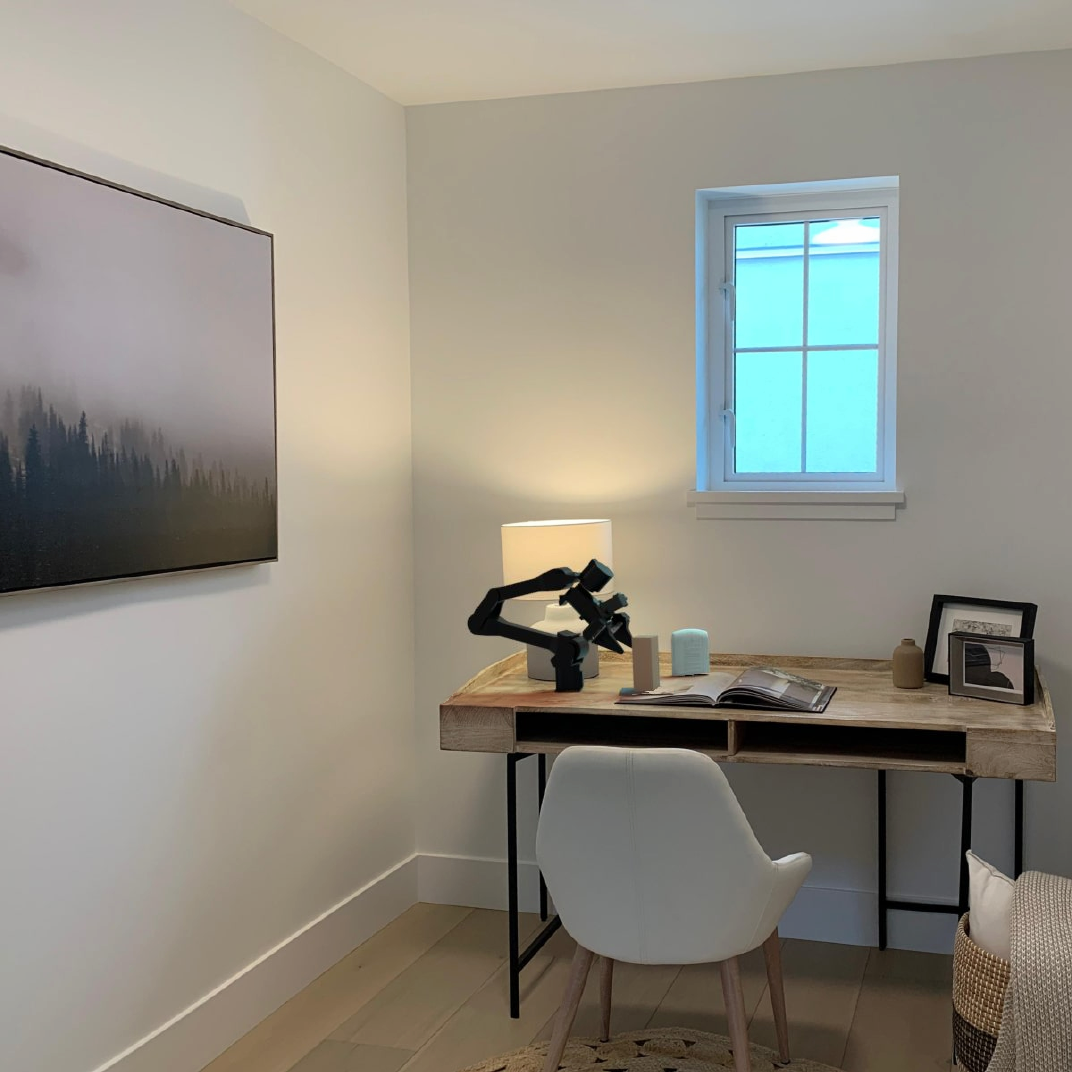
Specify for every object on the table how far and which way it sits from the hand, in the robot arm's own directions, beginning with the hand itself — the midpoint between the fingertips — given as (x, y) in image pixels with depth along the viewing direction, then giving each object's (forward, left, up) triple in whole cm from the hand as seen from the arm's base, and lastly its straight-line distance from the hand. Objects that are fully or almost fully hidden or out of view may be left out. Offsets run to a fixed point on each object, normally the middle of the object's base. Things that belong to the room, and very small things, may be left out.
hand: (629, 650), depth 293 cm
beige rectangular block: (+4, -1, -9) cm, 10 cm away
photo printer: (+14, +27, -10) cm, 32 cm away
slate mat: (+4, -1, -10) cm, 11 cm away
